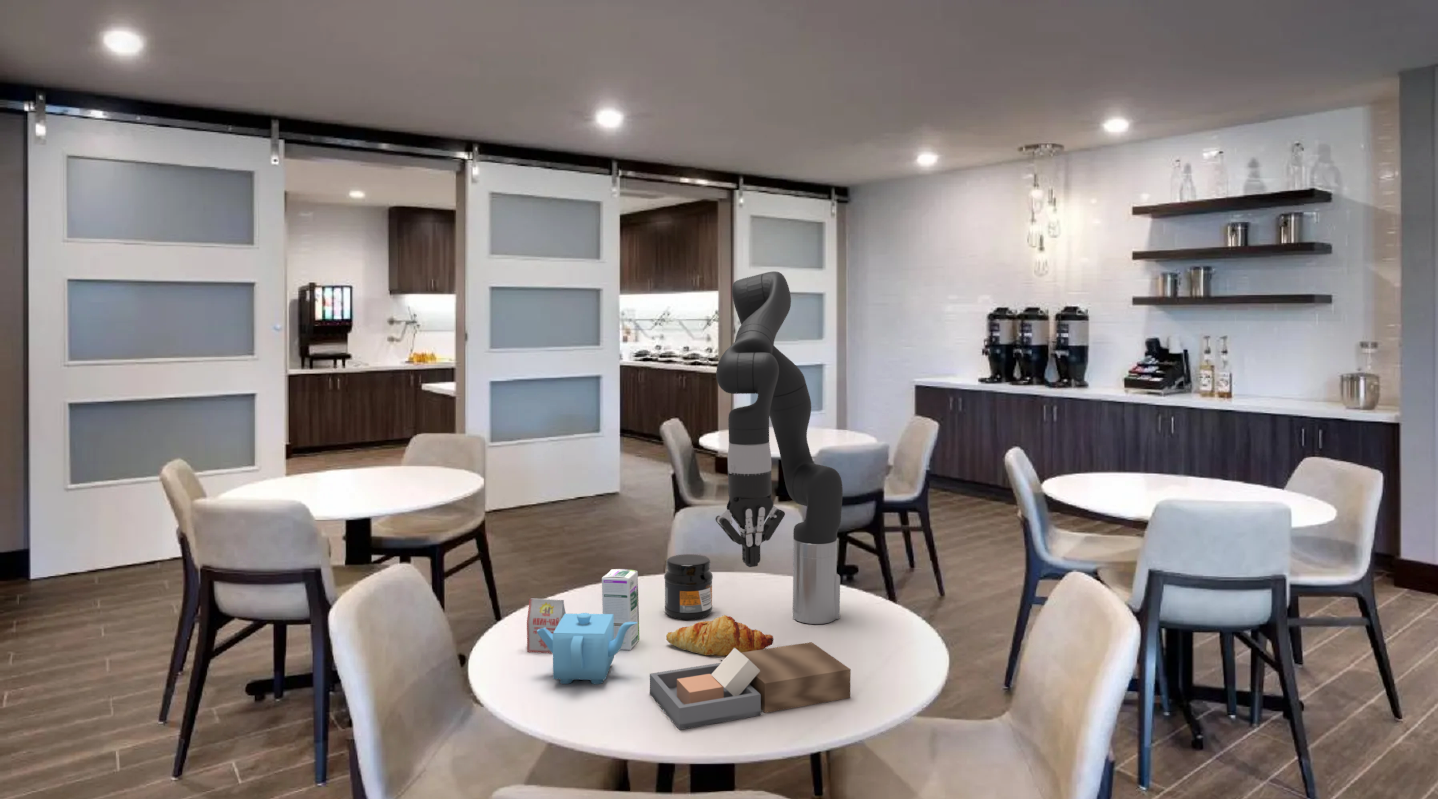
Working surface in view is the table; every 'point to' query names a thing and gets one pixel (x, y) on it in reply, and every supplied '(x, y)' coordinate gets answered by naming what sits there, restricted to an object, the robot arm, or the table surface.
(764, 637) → the croissant
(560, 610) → the tea bag
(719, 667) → the cream tile
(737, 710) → the box
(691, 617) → the supplement container
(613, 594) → the syrup box
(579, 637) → the teapot
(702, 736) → the table surface
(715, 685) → the terracotta tile
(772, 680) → the wood grain slab
